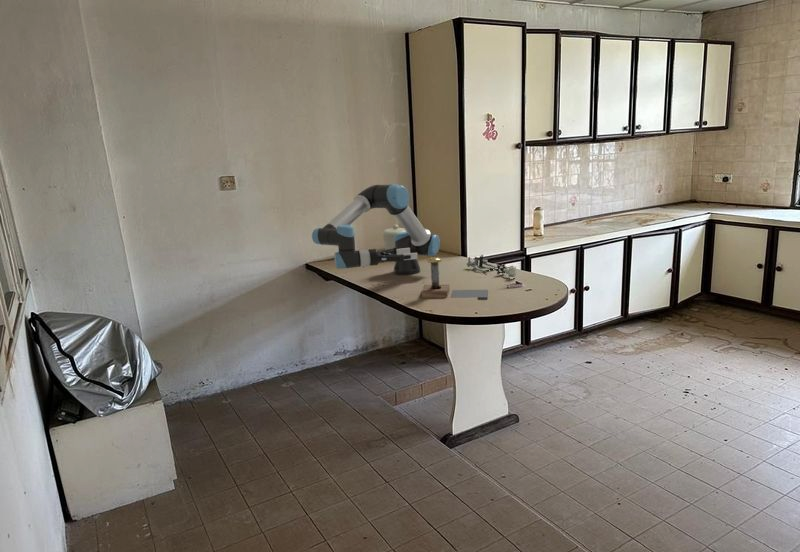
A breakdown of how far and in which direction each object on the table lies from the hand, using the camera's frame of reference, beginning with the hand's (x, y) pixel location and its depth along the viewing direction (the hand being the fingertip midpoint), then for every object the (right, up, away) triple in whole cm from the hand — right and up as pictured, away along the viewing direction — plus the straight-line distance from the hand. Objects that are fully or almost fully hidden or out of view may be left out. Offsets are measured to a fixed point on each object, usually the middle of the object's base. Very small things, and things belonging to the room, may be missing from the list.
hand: (413, 253), depth 261 cm
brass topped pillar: (+11, -19, +7) cm, 23 cm away
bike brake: (+41, -8, +53) cm, 68 cm away
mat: (+27, -20, +5) cm, 34 cm away
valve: (+50, -11, +35) cm, 62 cm away
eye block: (+11, -20, +8) cm, 24 cm away
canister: (-8, +2, +102) cm, 102 cm away
